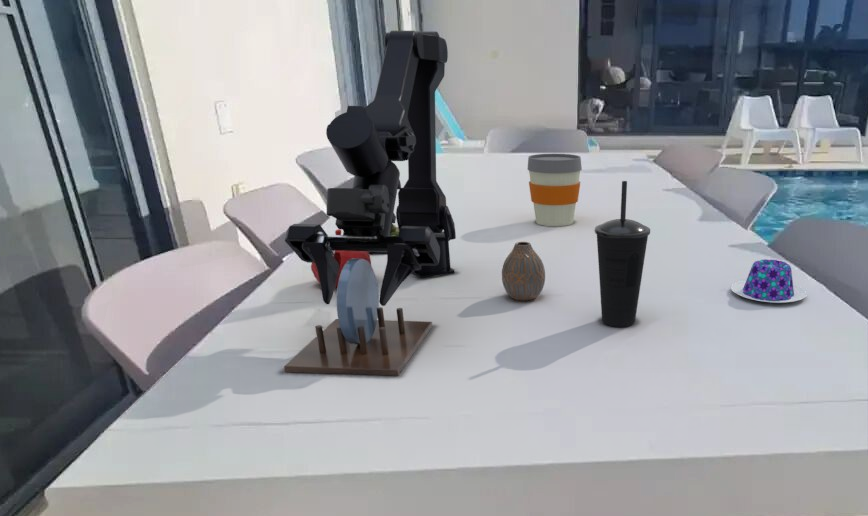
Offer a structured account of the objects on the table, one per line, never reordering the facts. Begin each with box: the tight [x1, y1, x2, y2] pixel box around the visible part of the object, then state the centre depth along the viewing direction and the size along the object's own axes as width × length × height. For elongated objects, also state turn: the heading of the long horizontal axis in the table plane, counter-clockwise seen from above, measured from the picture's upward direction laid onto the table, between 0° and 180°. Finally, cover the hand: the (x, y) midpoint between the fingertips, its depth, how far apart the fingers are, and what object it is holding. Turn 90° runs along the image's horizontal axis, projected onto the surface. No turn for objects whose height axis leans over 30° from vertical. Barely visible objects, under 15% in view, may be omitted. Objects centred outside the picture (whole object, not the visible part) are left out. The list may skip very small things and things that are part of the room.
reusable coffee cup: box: [527, 153, 582, 227], centre depth 150 cm, size 13×12×15 cm
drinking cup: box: [594, 180, 651, 328], centre depth 89 cm, size 8×8×20 cm
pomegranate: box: [310, 228, 372, 289], centre depth 107 cm, size 10×10×9 cm
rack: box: [283, 306, 433, 376], centre depth 83 cm, size 16×14×4 cm
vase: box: [501, 241, 546, 302], centre depth 101 cm, size 7×7×9 cm
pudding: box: [730, 259, 808, 304], centre depth 104 cm, size 12×12×5 cm
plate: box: [336, 258, 380, 345], centre depth 82 cm, size 11×1×11 cm, turn 176°
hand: (354, 303), depth 80 cm, fingers open, 7 cm apart
